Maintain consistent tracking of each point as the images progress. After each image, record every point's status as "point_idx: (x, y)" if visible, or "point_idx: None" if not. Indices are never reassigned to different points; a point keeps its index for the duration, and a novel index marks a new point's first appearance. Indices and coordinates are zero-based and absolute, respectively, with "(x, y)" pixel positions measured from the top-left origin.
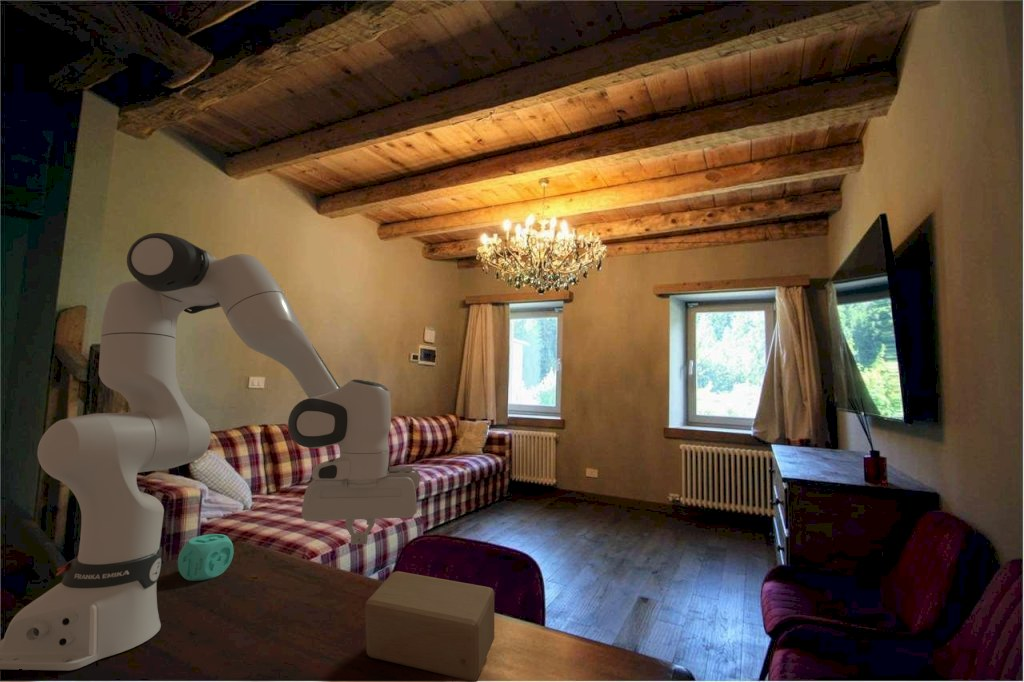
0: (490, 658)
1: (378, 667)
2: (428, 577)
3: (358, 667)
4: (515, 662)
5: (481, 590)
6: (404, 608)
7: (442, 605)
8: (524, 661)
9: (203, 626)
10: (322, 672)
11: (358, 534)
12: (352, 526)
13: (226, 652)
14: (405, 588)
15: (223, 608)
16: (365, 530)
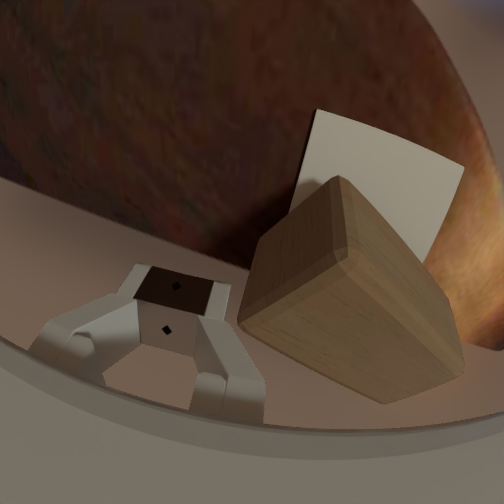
0: None
1: None
2: (408, 328)
3: (242, 254)
4: None
5: (445, 378)
6: (310, 367)
7: (372, 383)
8: None
9: (9, 62)
10: (186, 246)
11: (161, 343)
12: (99, 332)
13: (46, 145)
14: (337, 336)
15: (25, 4)
16: (200, 331)
